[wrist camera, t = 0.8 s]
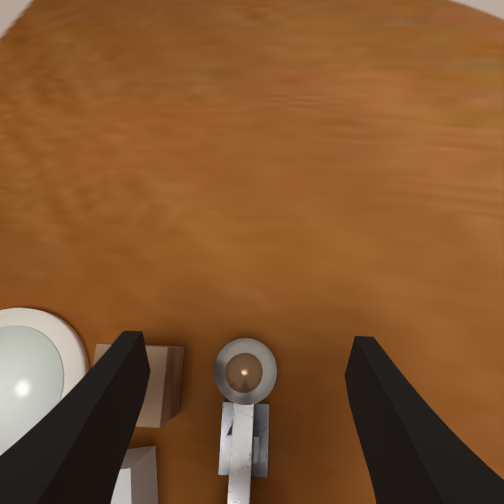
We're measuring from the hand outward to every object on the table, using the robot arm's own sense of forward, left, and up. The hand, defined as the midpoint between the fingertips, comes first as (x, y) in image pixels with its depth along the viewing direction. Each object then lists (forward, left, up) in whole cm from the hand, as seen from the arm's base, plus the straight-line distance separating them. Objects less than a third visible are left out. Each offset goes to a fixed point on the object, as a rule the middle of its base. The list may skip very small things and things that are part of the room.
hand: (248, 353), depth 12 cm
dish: (-3, +18, -13) cm, 22 cm away
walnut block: (-2, +8, -14) cm, 16 cm away
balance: (-6, +1, -13) cm, 15 cm away
